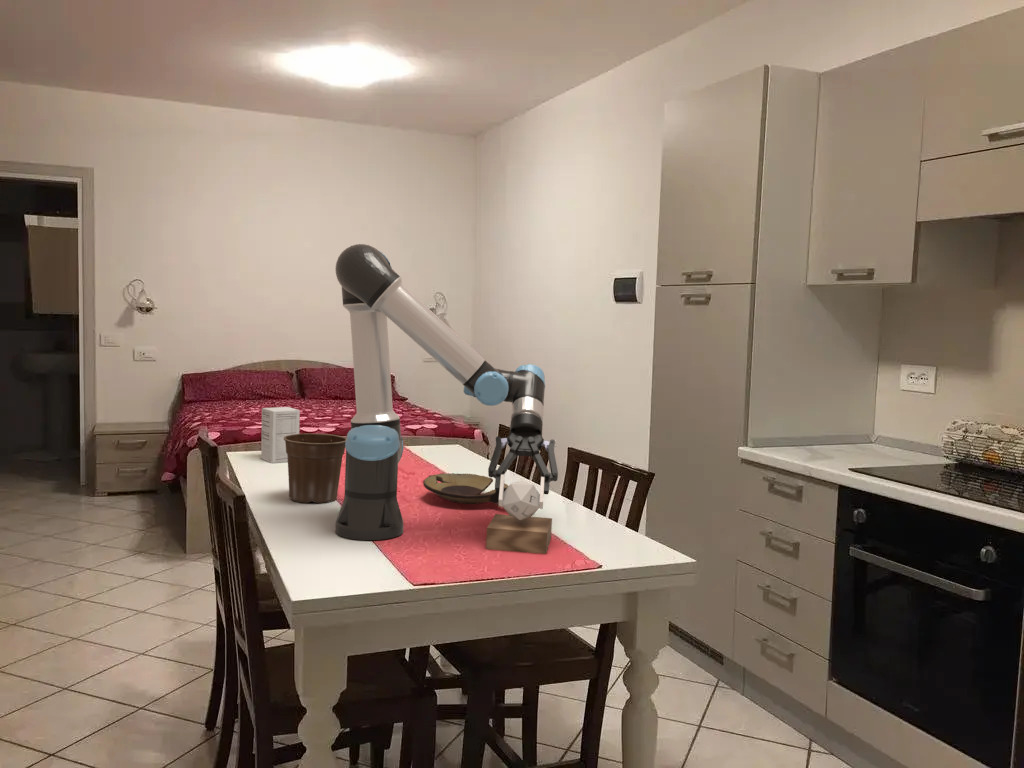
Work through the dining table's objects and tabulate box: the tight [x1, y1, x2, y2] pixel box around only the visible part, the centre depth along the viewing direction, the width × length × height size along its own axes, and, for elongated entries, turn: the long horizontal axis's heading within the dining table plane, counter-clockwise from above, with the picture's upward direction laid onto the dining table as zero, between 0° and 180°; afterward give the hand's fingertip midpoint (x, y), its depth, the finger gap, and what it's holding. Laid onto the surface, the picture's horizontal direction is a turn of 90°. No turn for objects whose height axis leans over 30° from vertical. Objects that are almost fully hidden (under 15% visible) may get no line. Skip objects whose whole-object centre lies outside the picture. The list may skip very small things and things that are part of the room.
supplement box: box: [260, 406, 301, 464], centre depth 266 cm, size 10×9×17 cm
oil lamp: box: [422, 472, 509, 505], centre depth 219 cm, size 22×30×8 cm
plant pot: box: [284, 432, 347, 504], centre depth 214 cm, size 16×16×16 cm
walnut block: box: [485, 513, 553, 555], centre depth 182 cm, size 13×13×5 cm
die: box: [501, 480, 540, 520], centre depth 181 cm, size 8×9×10 cm
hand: (520, 504), depth 178 cm, fingers closed on die, 8 cm apart
